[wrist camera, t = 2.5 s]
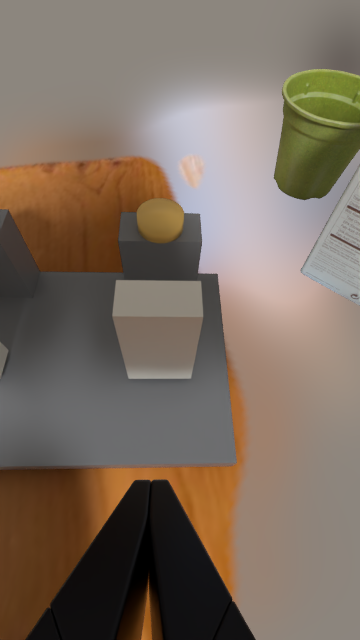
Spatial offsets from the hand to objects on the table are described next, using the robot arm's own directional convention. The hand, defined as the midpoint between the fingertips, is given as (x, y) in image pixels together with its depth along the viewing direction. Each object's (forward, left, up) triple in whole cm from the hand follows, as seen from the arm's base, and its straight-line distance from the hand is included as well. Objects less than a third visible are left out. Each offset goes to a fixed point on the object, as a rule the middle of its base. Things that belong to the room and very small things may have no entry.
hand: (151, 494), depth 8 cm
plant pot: (+30, -15, -13) cm, 36 cm away
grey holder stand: (+9, +5, -12) cm, 16 cm away
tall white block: (+8, 0, -10) cm, 13 cm away
